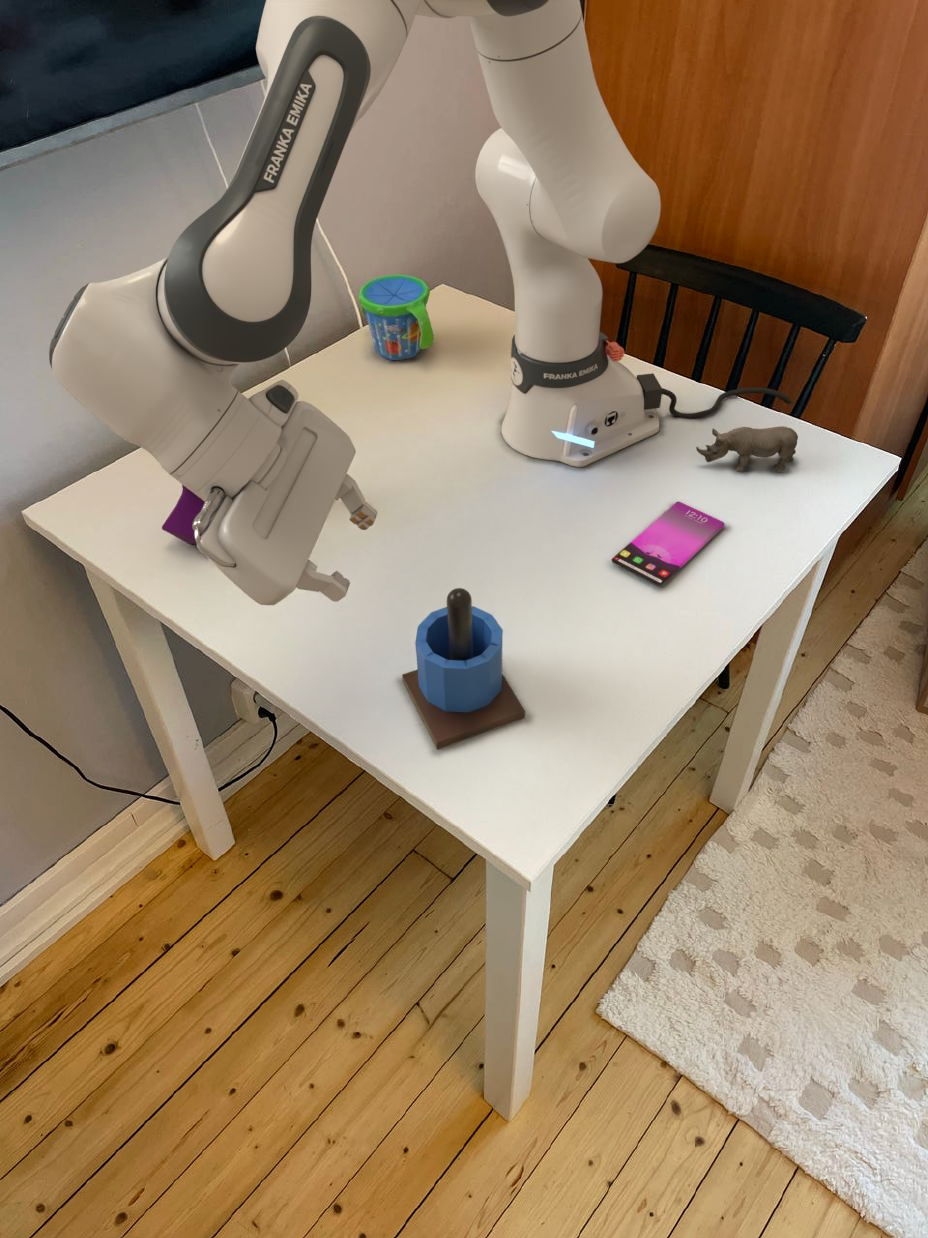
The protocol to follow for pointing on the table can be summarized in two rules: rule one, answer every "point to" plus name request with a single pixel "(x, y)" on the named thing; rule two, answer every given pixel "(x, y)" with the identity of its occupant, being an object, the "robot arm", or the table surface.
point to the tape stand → (459, 612)
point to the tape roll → (459, 663)
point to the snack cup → (397, 315)
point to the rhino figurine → (754, 445)
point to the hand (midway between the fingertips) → (358, 556)
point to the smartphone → (668, 543)
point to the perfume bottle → (184, 516)
